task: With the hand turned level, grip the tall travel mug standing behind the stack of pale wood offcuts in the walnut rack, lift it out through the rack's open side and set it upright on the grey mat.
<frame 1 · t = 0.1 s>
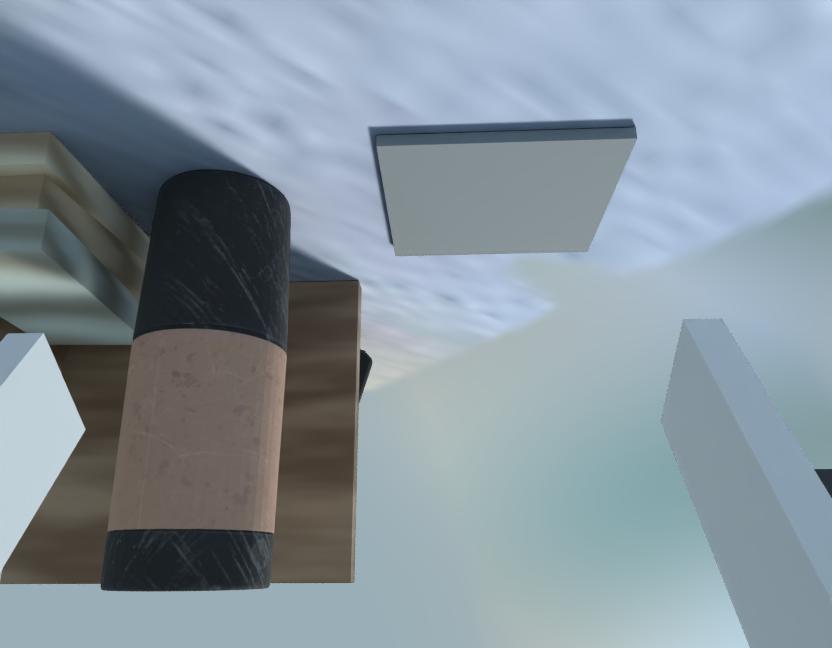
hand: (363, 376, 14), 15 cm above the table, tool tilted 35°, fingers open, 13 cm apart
travel mug: (226, 200, 38), on the table
grey mat: (496, 196, 37), on the table
offcut stack: (69, 212, 40), on the table
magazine: (185, 313, 56), on the table
walnut rack: (152, 223, 40), on the table
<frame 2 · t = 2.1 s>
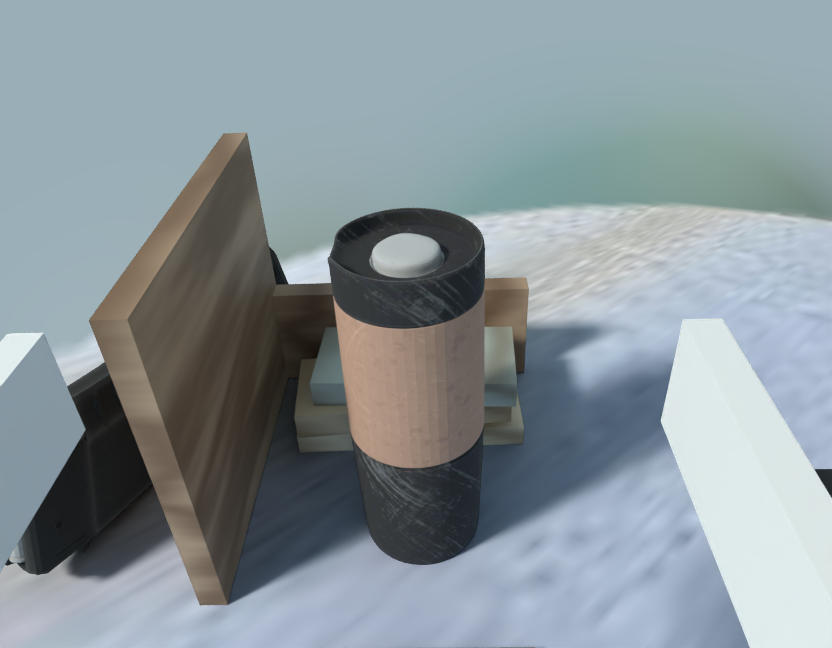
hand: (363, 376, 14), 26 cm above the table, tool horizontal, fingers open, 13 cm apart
travel mug: (422, 520, 44), on the table
offcut stack: (411, 417, 52), on the table
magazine: (189, 428, 52), on the table
walnut rack: (395, 460, 48), on the table
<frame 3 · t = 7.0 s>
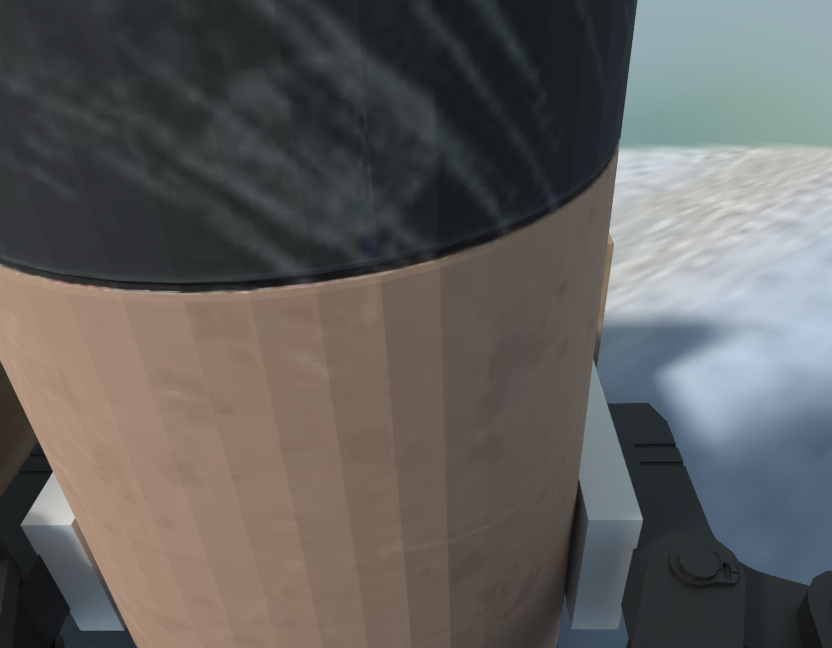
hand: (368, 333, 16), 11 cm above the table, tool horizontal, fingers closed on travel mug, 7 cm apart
walnut rack: (335, 606, 22), on the table
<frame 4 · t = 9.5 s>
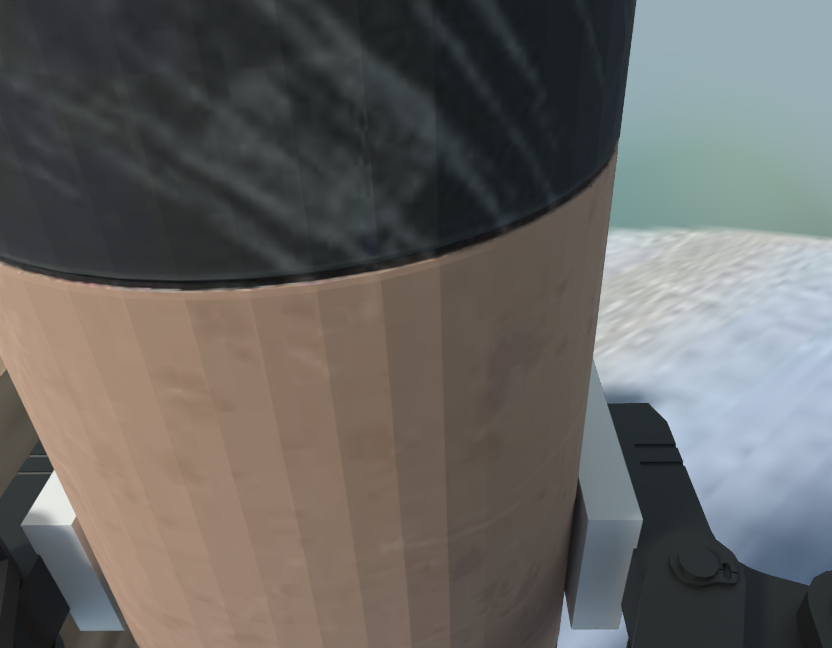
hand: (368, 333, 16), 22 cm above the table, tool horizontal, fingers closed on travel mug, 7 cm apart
walnut rack: (386, 602, 35), on the table
when the fingers open (13 cm above the table, at t = 12.3 s): travel mug drops 1 cm, resting on grey mat.
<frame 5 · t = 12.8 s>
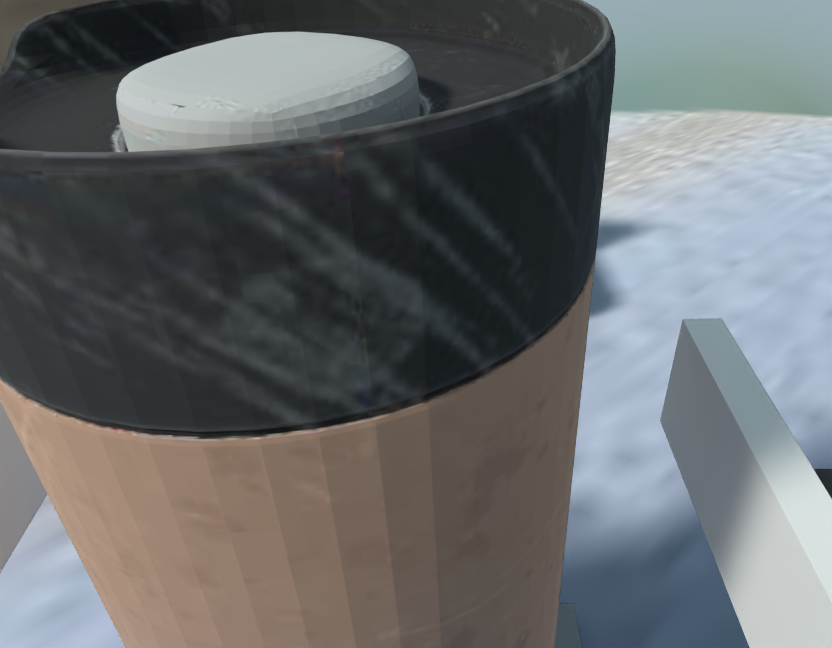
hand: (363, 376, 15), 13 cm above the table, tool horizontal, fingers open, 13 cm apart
walnut rack: (373, 367, 36), on the table
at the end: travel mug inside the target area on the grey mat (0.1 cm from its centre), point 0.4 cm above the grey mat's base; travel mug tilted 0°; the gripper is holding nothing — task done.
